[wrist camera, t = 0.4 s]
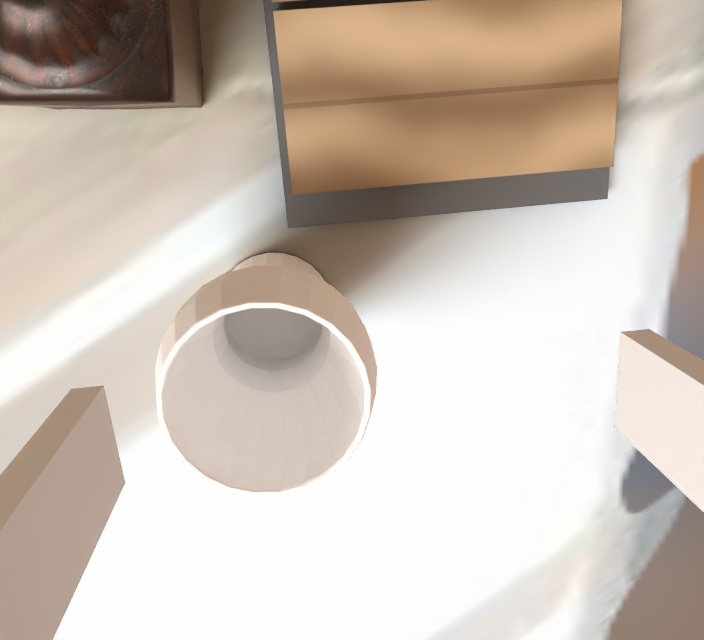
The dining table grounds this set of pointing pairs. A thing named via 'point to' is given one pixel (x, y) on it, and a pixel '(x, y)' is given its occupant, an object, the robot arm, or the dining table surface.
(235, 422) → the cup
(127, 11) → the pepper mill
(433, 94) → the plank
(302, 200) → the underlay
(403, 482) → the dining table surface
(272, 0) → the plank
